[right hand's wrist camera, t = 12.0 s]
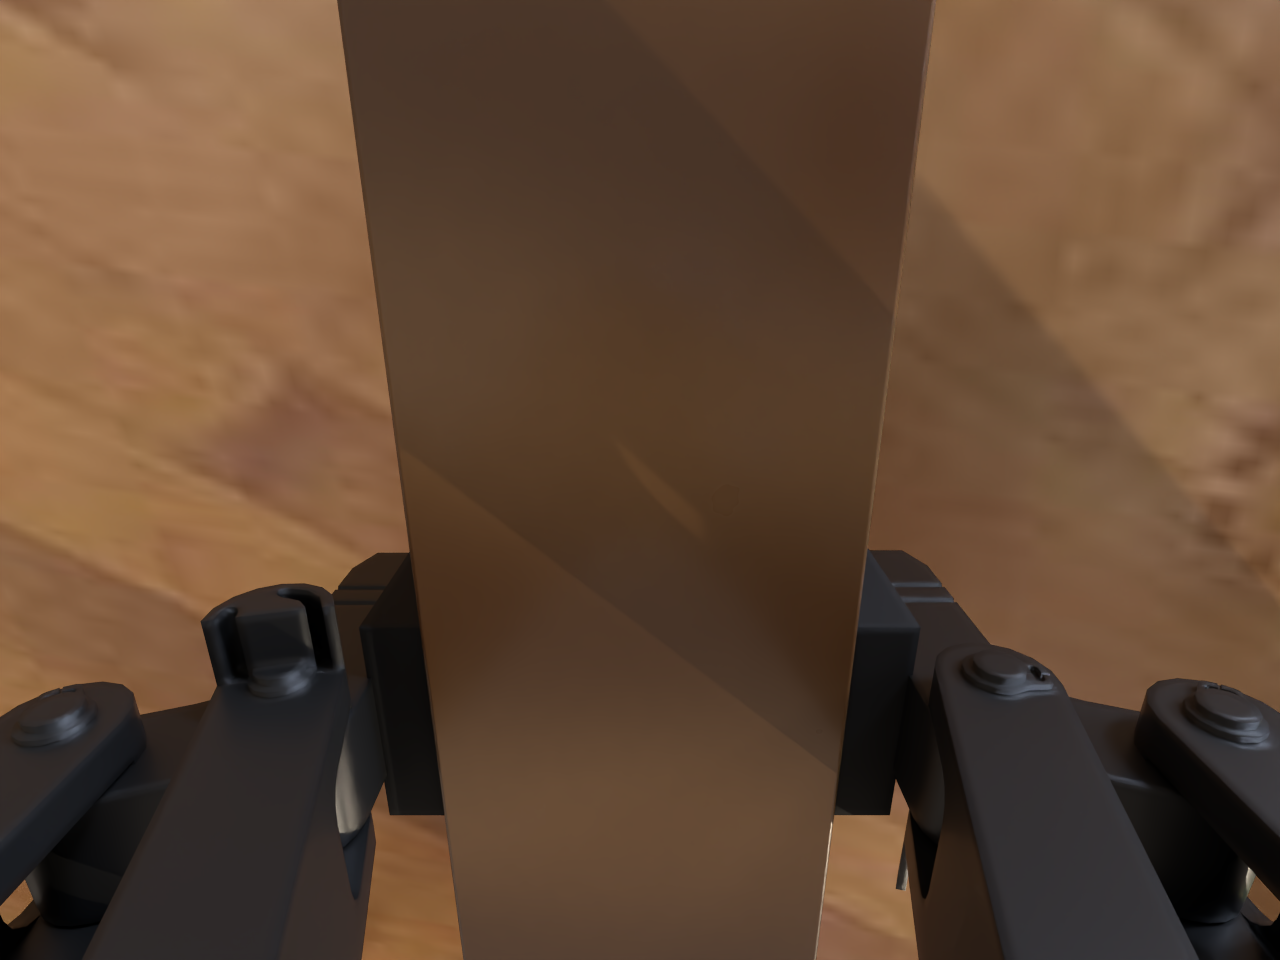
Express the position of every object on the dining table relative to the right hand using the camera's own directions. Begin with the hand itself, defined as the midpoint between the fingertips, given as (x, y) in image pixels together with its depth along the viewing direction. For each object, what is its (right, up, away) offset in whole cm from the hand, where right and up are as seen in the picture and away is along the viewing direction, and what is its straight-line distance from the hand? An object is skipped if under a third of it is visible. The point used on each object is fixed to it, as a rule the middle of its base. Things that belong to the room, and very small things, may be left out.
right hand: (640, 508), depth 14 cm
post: (0, +22, -8) cm, 23 cm away
